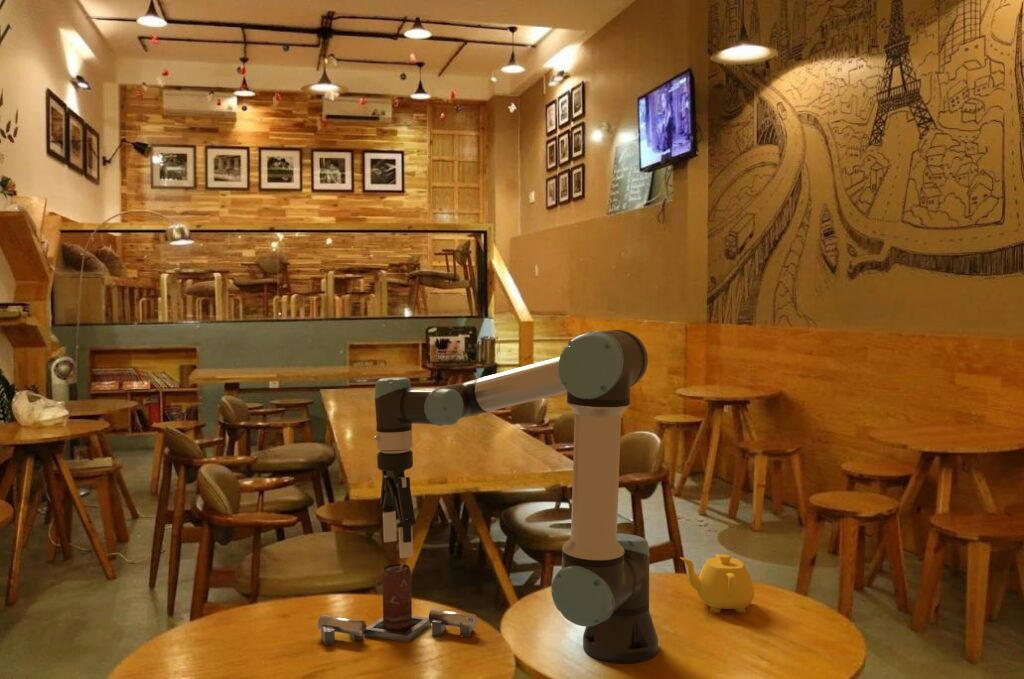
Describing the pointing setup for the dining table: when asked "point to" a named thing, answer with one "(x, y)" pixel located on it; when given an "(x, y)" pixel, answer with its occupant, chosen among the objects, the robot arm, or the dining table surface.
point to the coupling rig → (374, 630)
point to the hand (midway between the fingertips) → (398, 549)
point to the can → (397, 598)
